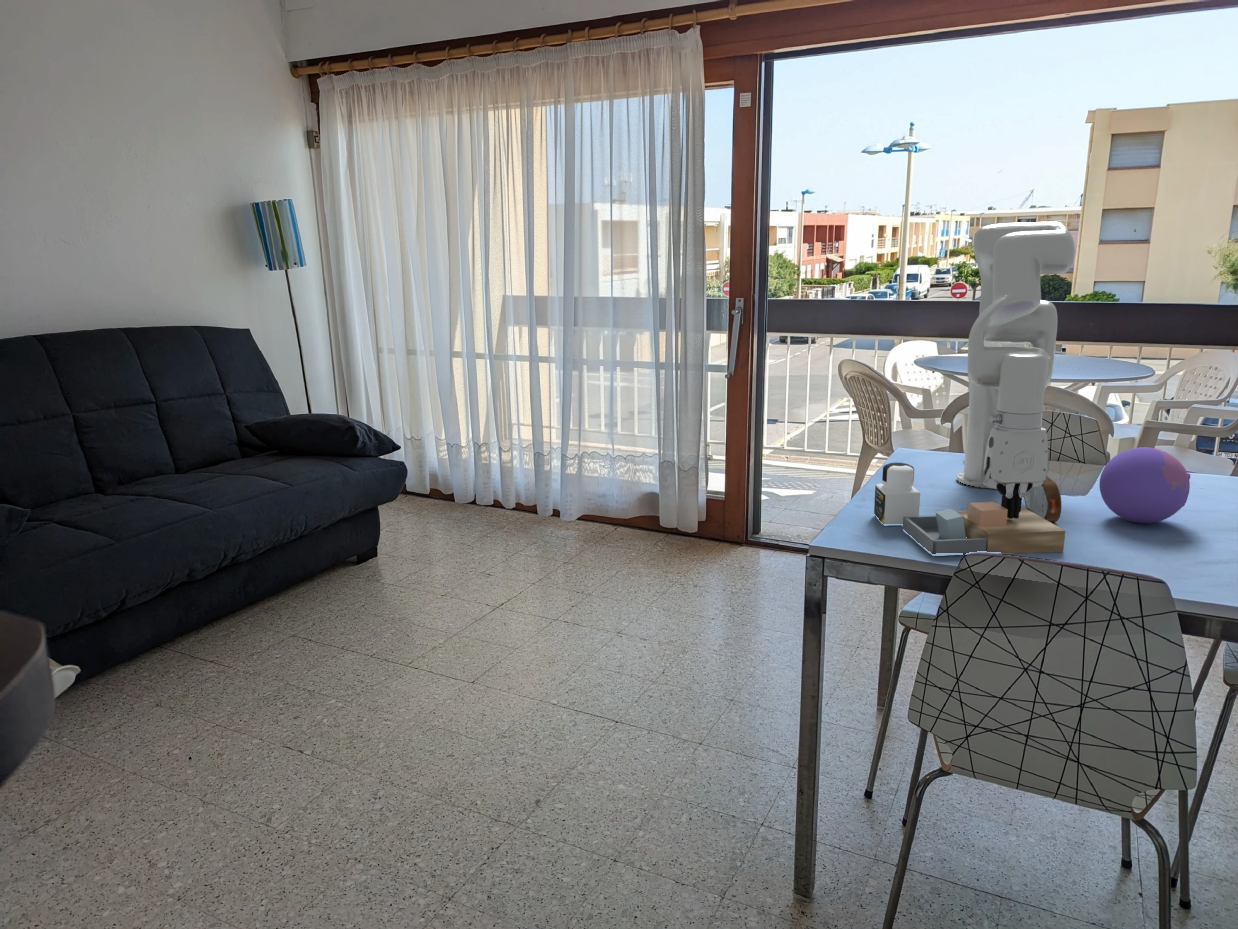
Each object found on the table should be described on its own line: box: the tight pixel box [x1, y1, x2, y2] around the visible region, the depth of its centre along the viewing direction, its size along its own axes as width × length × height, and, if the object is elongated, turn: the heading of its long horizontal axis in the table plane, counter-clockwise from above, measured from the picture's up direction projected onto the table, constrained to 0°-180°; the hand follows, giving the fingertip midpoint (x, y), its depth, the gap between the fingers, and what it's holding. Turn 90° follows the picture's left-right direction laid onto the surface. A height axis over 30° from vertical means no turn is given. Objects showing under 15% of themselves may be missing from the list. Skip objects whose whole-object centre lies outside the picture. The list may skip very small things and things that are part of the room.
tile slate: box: [935, 507, 966, 540], centre depth 153 cm, size 5×5×3 cm
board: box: [955, 507, 1066, 555], centre depth 154 cm, size 14×14×4 cm
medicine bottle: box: [873, 462, 921, 524], centre depth 166 cm, size 7×7×12 cm
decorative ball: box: [1099, 446, 1191, 524], centre depth 161 cm, size 15×15×15 cm
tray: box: [902, 515, 987, 555], centre depth 154 cm, size 14×10×3 cm
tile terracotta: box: [967, 501, 1008, 526], centre depth 153 cm, size 5×5×3 cm
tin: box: [1023, 475, 1062, 523], centre depth 167 cm, size 15×3×8 cm, turn 172°
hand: (1010, 516), depth 153 cm, fingers closed
